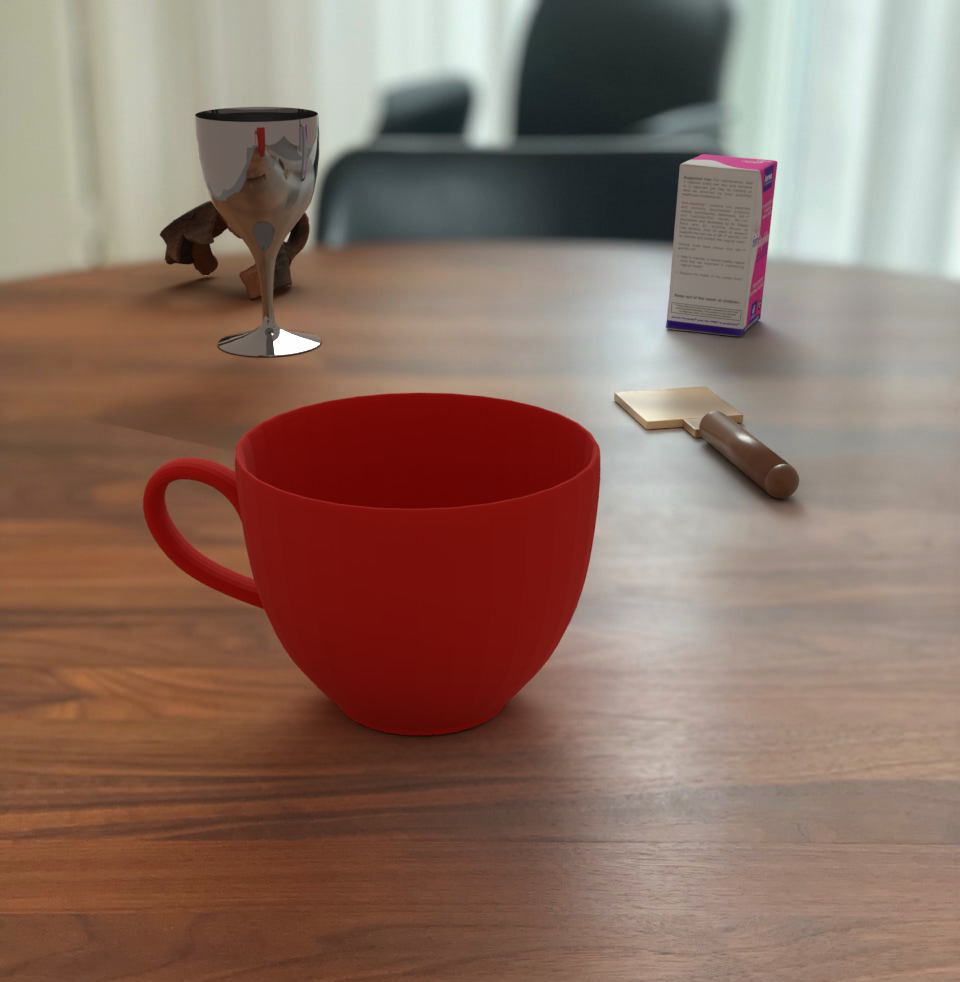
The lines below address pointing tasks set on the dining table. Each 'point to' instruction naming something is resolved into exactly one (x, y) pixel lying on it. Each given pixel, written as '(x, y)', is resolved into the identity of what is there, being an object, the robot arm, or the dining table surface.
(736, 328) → the supplement box
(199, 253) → the brown irregular piece
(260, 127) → the wine glass
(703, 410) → the spatula
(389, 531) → the ceramic cup
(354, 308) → the dining table surface
